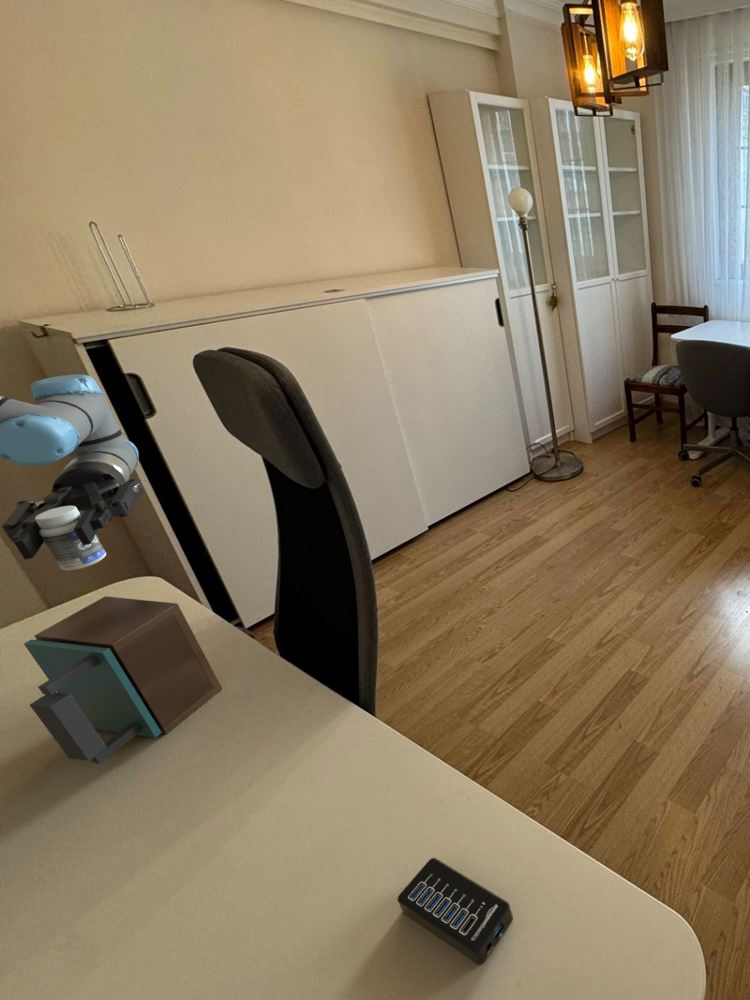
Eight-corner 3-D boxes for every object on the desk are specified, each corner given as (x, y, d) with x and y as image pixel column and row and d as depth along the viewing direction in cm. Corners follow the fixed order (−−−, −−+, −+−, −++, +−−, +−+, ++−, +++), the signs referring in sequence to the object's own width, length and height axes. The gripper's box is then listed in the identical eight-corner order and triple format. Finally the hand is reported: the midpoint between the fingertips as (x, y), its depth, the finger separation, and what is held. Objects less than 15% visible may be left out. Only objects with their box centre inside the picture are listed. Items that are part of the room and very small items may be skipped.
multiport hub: (437, 868, 60) (432, 855, 59) (515, 916, 56) (511, 903, 55) (400, 911, 56) (395, 898, 55) (481, 966, 52) (476, 953, 51)
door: (26, 767, 71) (-43, 680, 64) (88, 722, 77) (31, 639, 70) (104, 779, 69) (41, 691, 63) (161, 732, 75) (109, 648, 69)
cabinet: (94, 724, 77) (33, 635, 71) (155, 680, 85) (105, 596, 78) (167, 734, 76) (111, 644, 69) (222, 688, 83) (177, 603, 76)
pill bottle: (96, 566, 80) (67, 516, 76) (52, 574, 78) (20, 523, 75) (114, 549, 84) (87, 501, 80) (73, 556, 82) (44, 507, 79)
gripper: (173, 486, 98) (154, 544, 81) (25, 518, 88) (-32, 591, 71) (155, 448, 95) (131, 499, 78) (-1, 476, 85) (-67, 542, 68)
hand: (53, 542), depth 75 cm, fingers closed on pill bottle, 5 cm apart
